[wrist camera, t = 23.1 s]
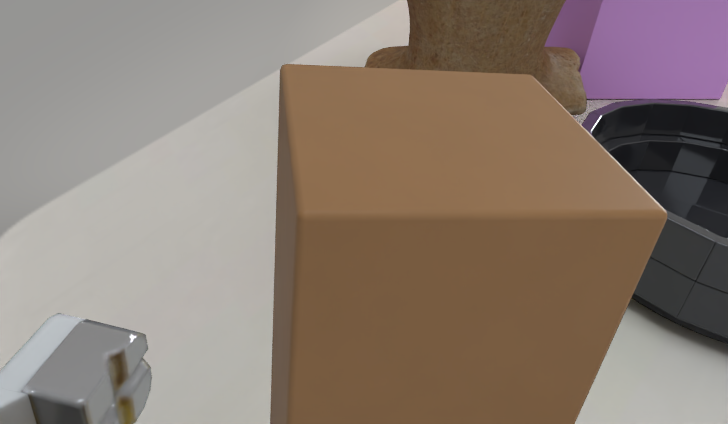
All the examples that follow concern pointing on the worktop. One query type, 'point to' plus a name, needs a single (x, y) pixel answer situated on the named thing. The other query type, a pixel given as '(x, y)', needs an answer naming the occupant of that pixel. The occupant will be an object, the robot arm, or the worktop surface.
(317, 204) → the sponge wand
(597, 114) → the bowl
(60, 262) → the worktop surface
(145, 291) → the worktop surface
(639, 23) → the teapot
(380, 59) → the stone cup
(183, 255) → the worktop surface
